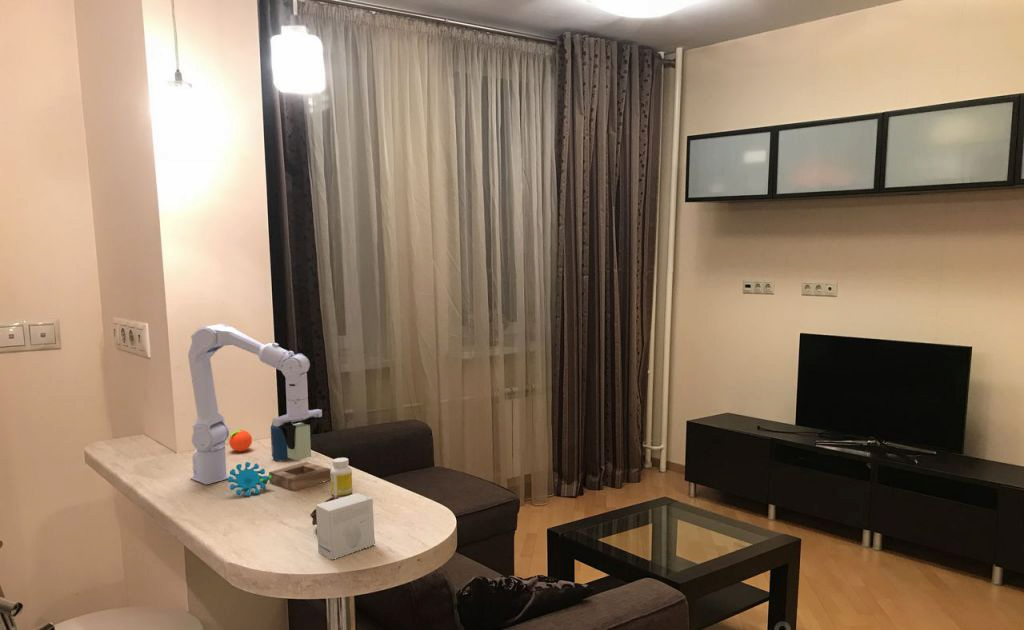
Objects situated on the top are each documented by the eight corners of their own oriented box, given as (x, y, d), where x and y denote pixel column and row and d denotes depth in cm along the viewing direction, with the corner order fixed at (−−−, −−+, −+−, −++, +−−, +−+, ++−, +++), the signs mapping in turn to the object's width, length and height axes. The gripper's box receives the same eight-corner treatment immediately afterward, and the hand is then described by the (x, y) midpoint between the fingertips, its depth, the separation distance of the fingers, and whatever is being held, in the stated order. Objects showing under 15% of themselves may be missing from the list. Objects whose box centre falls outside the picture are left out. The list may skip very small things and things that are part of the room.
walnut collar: (269, 482, 195) (269, 471, 195) (306, 471, 204) (306, 461, 204) (294, 490, 188) (293, 480, 187) (331, 479, 197) (331, 469, 197)
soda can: (299, 457, 220) (298, 419, 219) (282, 462, 214) (280, 424, 213) (285, 454, 224) (283, 417, 223) (267, 459, 218) (265, 421, 217)
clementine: (235, 456, 222) (234, 434, 222) (222, 453, 226) (221, 431, 226) (256, 450, 229) (255, 428, 229) (243, 447, 233) (242, 426, 232)
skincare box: (360, 537, 155) (358, 491, 154) (375, 546, 151) (374, 498, 150) (316, 551, 148) (314, 503, 147) (331, 560, 143) (329, 511, 143)
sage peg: (287, 457, 195) (286, 425, 194) (301, 453, 199) (300, 422, 198) (297, 460, 192) (295, 428, 192) (311, 456, 196) (309, 424, 195)
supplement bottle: (356, 494, 184) (355, 458, 183) (343, 501, 179) (342, 463, 178) (340, 492, 186) (338, 455, 185) (326, 498, 181) (325, 461, 180)
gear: (227, 494, 180) (228, 460, 187) (225, 505, 184) (225, 472, 191) (272, 493, 185) (271, 460, 192) (269, 504, 189) (268, 471, 195)
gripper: (282, 404, 186) (284, 454, 187) (327, 395, 197) (329, 443, 198) (267, 401, 190) (269, 450, 191) (312, 393, 202) (314, 439, 203)
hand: (299, 446), depth 195 cm, fingers closed on sage peg, 4 cm apart
